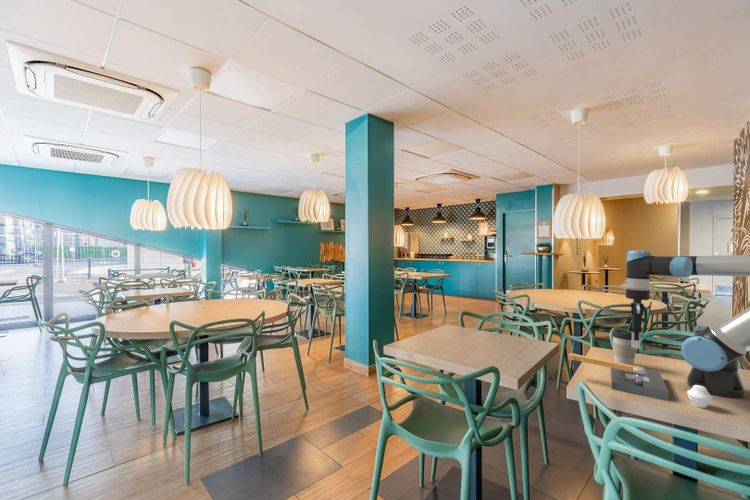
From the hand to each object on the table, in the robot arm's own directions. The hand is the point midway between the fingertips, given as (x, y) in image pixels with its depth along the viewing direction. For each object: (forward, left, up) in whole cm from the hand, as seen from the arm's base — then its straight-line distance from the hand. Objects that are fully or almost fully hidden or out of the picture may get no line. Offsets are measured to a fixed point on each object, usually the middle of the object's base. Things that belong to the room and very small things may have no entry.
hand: (635, 347), depth 136 cm
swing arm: (+10, +15, -5) cm, 19 cm away
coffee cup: (+3, -17, -13) cm, 21 cm away
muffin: (-16, +17, -13) cm, 27 cm away
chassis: (0, +6, -12) cm, 14 cm away
